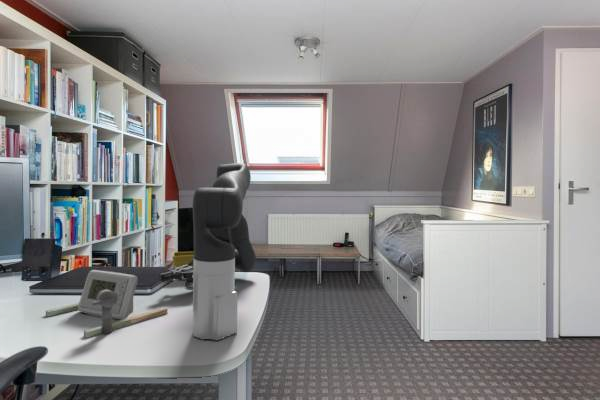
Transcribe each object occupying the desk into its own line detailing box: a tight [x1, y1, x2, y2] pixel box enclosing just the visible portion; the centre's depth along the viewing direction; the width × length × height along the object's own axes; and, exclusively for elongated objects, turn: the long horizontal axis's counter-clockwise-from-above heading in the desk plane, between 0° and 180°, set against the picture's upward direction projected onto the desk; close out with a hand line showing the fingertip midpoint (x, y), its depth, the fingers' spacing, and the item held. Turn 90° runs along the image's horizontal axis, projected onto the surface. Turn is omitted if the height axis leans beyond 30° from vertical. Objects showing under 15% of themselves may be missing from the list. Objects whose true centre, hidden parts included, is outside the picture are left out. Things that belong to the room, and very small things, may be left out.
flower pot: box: [172, 251, 194, 268], centre depth 133 cm, size 9×9×9 cm
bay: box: [45, 289, 169, 339], centre depth 93 cm, size 24×20×10 cm
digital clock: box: [77, 269, 139, 320], centre depth 95 cm, size 16×9×11 cm, turn 58°
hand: (159, 278), depth 106 cm, fingers closed
